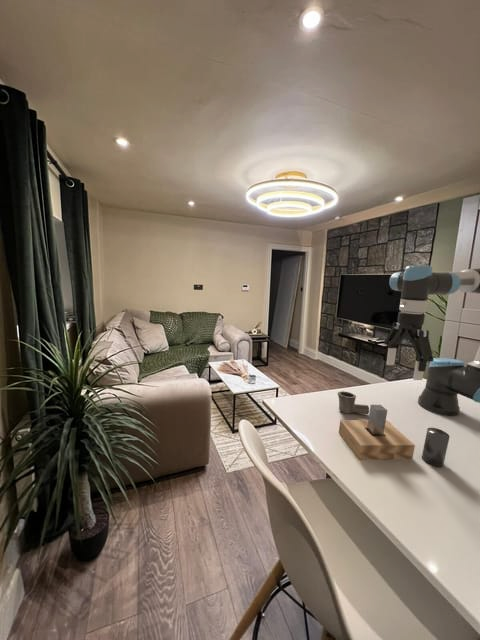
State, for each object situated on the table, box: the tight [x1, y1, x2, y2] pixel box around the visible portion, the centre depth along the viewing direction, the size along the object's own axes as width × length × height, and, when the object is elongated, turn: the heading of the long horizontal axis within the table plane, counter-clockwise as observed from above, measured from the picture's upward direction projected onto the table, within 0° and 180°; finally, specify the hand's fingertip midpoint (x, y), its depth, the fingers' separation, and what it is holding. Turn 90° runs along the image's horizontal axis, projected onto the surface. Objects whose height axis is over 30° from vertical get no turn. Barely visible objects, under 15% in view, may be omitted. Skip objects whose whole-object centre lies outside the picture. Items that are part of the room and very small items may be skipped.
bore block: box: [338, 419, 416, 461], centre depth 89 cm, size 18×14×5 cm
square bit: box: [367, 404, 388, 436], centre depth 88 cm, size 4×4×14 cm
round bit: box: [421, 427, 451, 469], centre depth 82 cm, size 6×6×10 cm
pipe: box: [337, 391, 370, 415], centre depth 110 cm, size 6×13×8 cm, turn 78°
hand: (402, 371), depth 92 cm, fingers open, 13 cm apart
